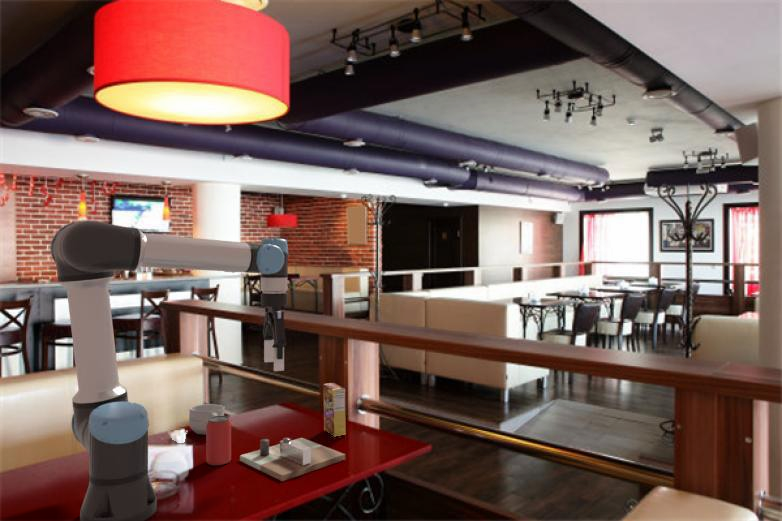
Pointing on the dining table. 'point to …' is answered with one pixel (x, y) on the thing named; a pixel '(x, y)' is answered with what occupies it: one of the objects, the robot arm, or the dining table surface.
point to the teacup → (203, 416)
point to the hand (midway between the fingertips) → (273, 366)
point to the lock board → (285, 468)
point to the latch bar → (295, 451)
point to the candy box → (334, 409)
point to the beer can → (218, 440)
